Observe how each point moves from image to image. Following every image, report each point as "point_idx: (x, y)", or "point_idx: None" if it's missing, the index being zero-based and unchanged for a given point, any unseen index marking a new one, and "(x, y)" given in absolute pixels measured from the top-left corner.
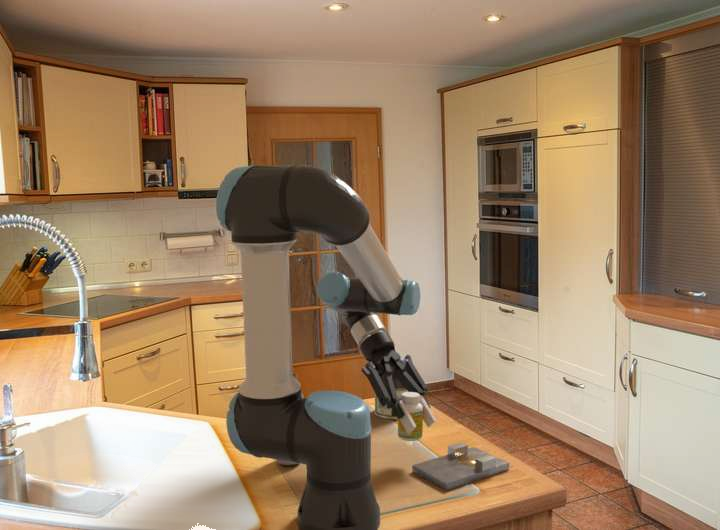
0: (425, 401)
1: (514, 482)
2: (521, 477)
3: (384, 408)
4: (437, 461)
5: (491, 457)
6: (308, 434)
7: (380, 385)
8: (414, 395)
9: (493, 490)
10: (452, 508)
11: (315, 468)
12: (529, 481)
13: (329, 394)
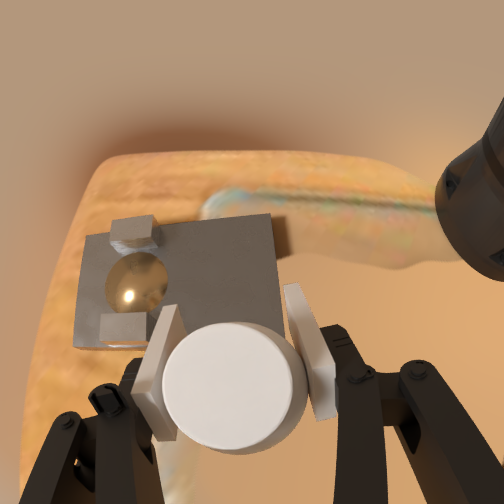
0: (141, 365)
1: (132, 197)
2: (106, 207)
3: None
4: (207, 325)
5: (116, 227)
6: None
7: (476, 439)
8: (216, 349)
9: (188, 187)
10: (303, 168)
11: None
12: (110, 190)
13: None
